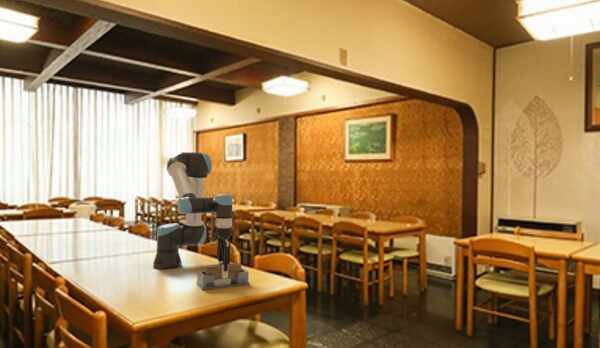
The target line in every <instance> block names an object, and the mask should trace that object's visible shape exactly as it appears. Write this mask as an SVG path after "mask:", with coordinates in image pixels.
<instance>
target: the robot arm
mask: <svg viewBox="0 0 600 348" xmlns="http://www.w3.org/2000/svg"><path fill="white" fill-rule="evenodd" d="M166 163H167V164H166V171H167V173H168V175H169V176H170V177H171V179H172V181H173V183H174V186H175V189H176V192H177V194H178V197H179V199H178V200H177V210H178V213H180V214H183V215H184V214H185V219H184V220H183V221H182V225H180V224H179V223H166V224H162V225H160V226H158V227H157V231H156V232H157V233H156V253H155V256H154V260H153V263H152V266H153V268H155V269H161V270H167V269H168V270H169V269H177V268H179V267H181V266H182V264H183V263H182V259H181V256H180V253H179V250H180V249H179V248H180V247H188V246H189V247H190V246H199V245H202V244H203V243H205V240H206V238H207V234H208V233H207V226H206V225H205V224H204V221H203V220H202V217H203V216H202V215H203V214H215V220H214V222H215V236H217V237H218V238H217V239H216V244H217V247H216V248H217V250H216V251H217V252H216V258H217V261H218V263H217V264H222V279H223V278H228V264H229V263H231V241H230V240H229V237H231V236H232V235H233V227H232V226H233V204H234V203H233V195H232V194H229V193H219V194H217V195H216V196H211V197H204V189H205V187H204V186H205V180H206V179H207V178H208V175H209V174H211V173H212V169H213V165H212V159H211V156H210V155H209V154H208V153H205V152H194V151H193V152H192V151H190V152H186V151H179V152H177V153H174V154H173V155H171V157H169V159H168V161H167V162H166Z"/></svg>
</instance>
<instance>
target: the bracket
mask: <svg viewBox="0 0 600 348" xmlns="http://www.w3.org/2000/svg"><path fill="white" fill-rule="evenodd" d="M249 273H250V272H249V271H248V270H247V269H245V268H243V267H242V266H241V272H237V278H231V279H219V280H215V275H207V276H205V270H200V271H197V281H196V286H198V287H199V288H200V289H201V290H202V291H207V290H208V291H209V290H215V289H216V290H217V289H223V288H224V289H225V288H233V287H241V286H243V287H244V286H249V285H250V281H249Z"/></svg>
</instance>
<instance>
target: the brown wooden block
mask: <svg viewBox="0 0 600 348" xmlns="http://www.w3.org/2000/svg"><path fill="white" fill-rule="evenodd" d="M241 267H242V264H241V263H240V262H230V263H229V264H228V278H223V279H231V278H237V272H241ZM204 271H205V276H207V275H215V280H220V279H222V264H218V263H215V264H205V265H204Z"/></svg>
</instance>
